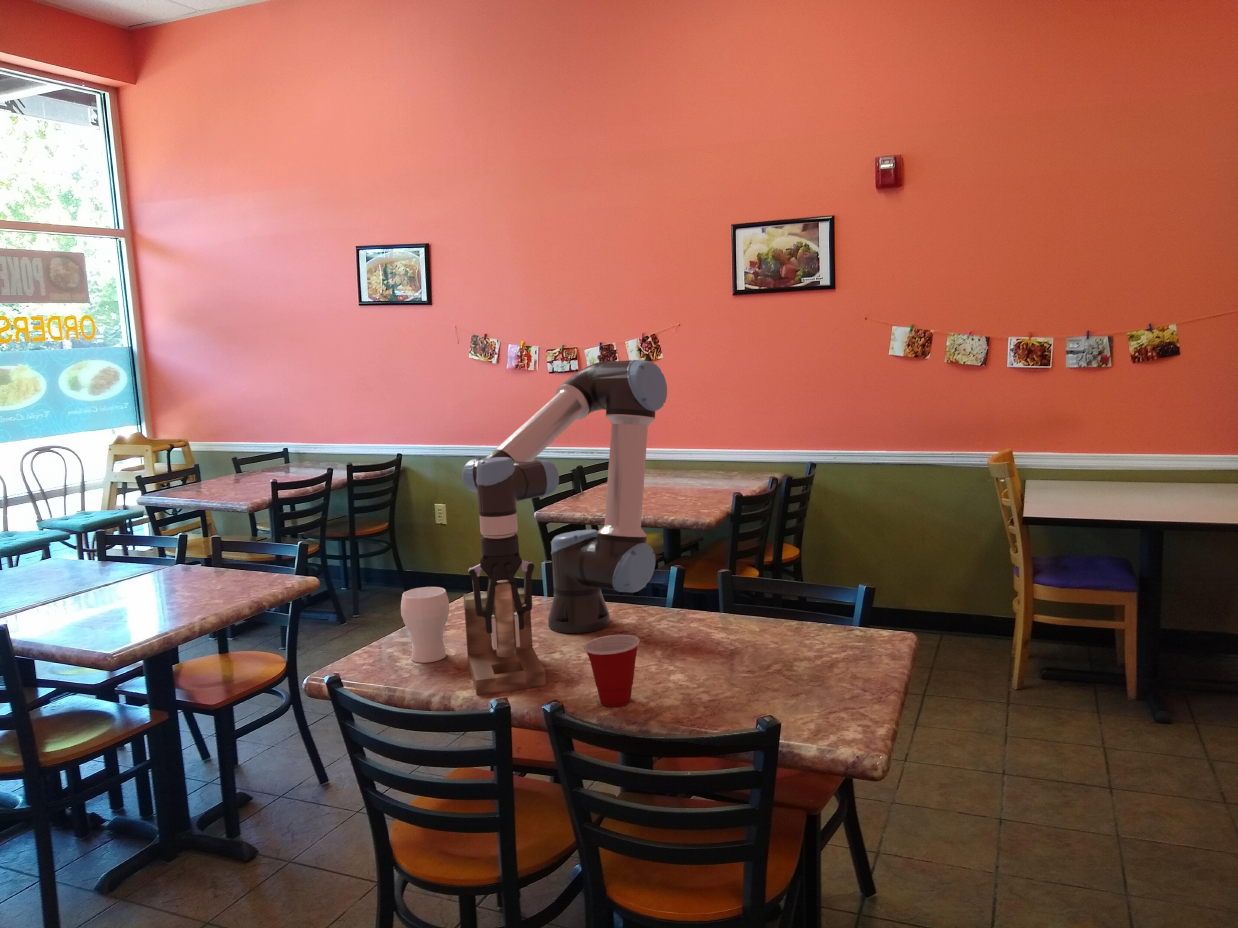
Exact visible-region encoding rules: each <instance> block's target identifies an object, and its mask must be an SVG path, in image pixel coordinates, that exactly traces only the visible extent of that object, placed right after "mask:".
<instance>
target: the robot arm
mask: <svg viewBox="0 0 1238 928" xmlns="http://www.w3.org/2000/svg"><path fill="white" fill-rule="evenodd" d="M667 396H668V384H667V380H666V377H665V374H664V373H663V372H662V370H661V367H660V366H658V365H657V364H656V363H654V362H653V361H649V360H640V359H633V360H631V359H630V360H610V361H609V360H604V361H603V360H602V361H598V362H595V363H592V364H589V365H587V366H586V367H584V368H582V369H581V370H579V371H577V372H575V373H574V374H573V375H572V376H570V377H568V379H566V380H565V381H564V382H563V383H562V384H561V385H559V386H558V387H557V388H556V391H555V395H554V396H553V397H552V398H551V399H550V400H549V401H548V402H546V404H544V405H543V406H542V407H541V408H540V409H538V411H536V412H535V413H534V414H533V415H532V416H531V417H530V418H529V419H527V420H526V421H525V422H523V424H522V425H520V426H519V427H517V429H516V430H515V431H514V432H512V433H511V435H509V436H508V437H507V438H506V439H505V440H504V441H502V442H501V443H500V444H499V445H498V446H496V447H495V449H493V450H492V451H491V452H490V453H489V454H487V455H486V456H485V457H484V458H482V457H478V458H477V457H476V458H472V459H470V460H468V461H467V462H466V463H465V464H464V466H463V469H462V471H461V472H462V473H461V478H462V483H463V485H464V487H465V488H466V489H467V490H469V491H470V492H473V493H477V501H478V513H479V529H480V534H481V537H480V548H481V549H480V551H481V557H480V560H479V563H478V564H477V565H475V566H470V567H468V569H467V571H468V574H469V576H470V578H471V583H472V593H474V603H475V611H476V614H477V616H479V617H480V616H481V617H484V618H485V627H486V631H487V633H491V637H492V647H493V650H497V636H496V620H495V617H494V615H492V610H493V603H494V596H495V586H496V585H497V581H500V580H508V581H509V583H510V584H511V590H512V594H513V600H514V604H515V607H516V612H517V613H516V612H515V613H514V624H515V641H516V647H520V637H519V630H521V629H524V613H525V612H527V611H531V612H532V611H533V583H532V578H533V577H532V576H533V572H534V570H535V564H534V563H533V562H532V560H529V561H526V560H524V559H522V557H521V555H520V544H519V535H518V534H517V532H518V531H519V529H518V528H519V527H518V516H517V515H518V513H517V512H518V510H517V502H520V501H525V500H530V499H535V498H542V497H545V496H547V495H551V494H553V493H554V492H556V490H557V489H558V487H559V483H560V474H559V471H558V468H557V467H556V465H555V464H554V463H553V462H551V461H550V460H547V459H541V460H538V459H536V457H537V456H539V455H540V454H541V453H542V452H543V451H544V450H545V449H546V448H547V447H549V445H551V444H552V443H553V442H554V441H555V440H556V439H557V438H559V437H560V435H562V434H563V432H565V431H566V430H568V428H569V427H570V426H572V424H574V422H575V421H577V420H583V419H585V418H586V417H587V416H589V414H591V413H593V412H596V411H597V412H598V411H603V410H604V411H605V417H606V418H607V419H608V421H609V422H610V424H611V428H610V440H609V441H610V445H609V455H608V470H607V482H606V483H607V485H606V486H607V487H606V499H605V510H604V511H605V515H604V525H603V526H602V527H601V528H600V529H599V530H597V529H582V530H574V531H569V532H568V531H567V532H563V533H560V534H557V535H555V536H554V537H553V538H552V540H551V552H550V555H551V557H550V558H551V568H552V570H551V571H552V581H553V598H552V602H551V605H550V608H549V609H550V610H549V613H548V617H547V621H548V623H547V624H548V628H549V629H551V630H552V631H555V632H559V633H565V634H583V633H590V632H591V633H592V632H597V631H600V630H602V629H605V628H606V627H608V626H609V625H610V623H611V619H610V617H611V616H610V615H611V614H610V611H609V609H608V606H607V604H606V601H605V599H604V596H603V593H602V589H605V590H613V591H616V592H618V593H636V592H639V591H641V590H642V589H644V588H645V587H646V585H647V584H648V583H649V582H650V581H651V578H652V576H653V574H654V572H655V567H656V554H655V552H654V549H653V548H652V546H650V545H649V544H647V538H648V537H647V536H648V535H647V533H645V531H644V530H643V528H642V517H643V516H642V515H643V500H644V486H645V473H646V459H647V447H648V446H647V443H648V431H649V430H648V429H649V426H650V425H651V424H652V423H653V422H654V421H655V420H656V412H657V411H659V410H661V409H662V408H663V407H664V403H666V401H667V398H668V397H667ZM534 459H536V460H534ZM533 460H534V461H533ZM520 567H521V569H522V572H523V588H524V605H522V604H521V600H520V596H519V593H518V589H517V588H518V586H517V585H518V584H517V582H516V577H515V575H516V574H517V572H518V570H519V568H520ZM481 571H483V572H484V573H485V574H486V575H487V577H488V583H487V591H486V592H487V598H486V605H485V610H484V609H482V603H481V594H480V592H481V586H480V579H479V577H480V576H481Z"/></svg>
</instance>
